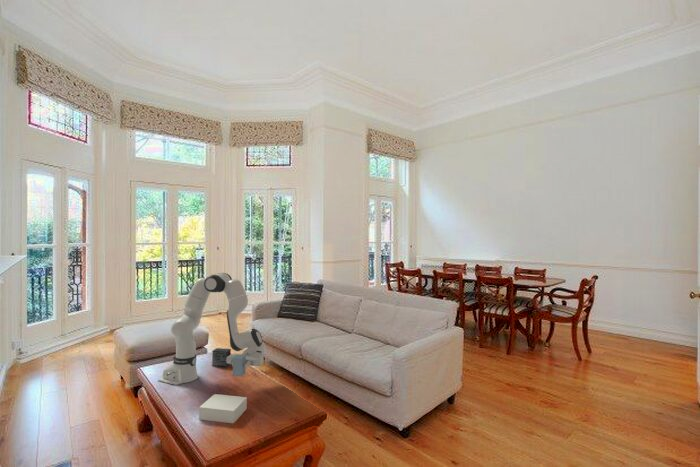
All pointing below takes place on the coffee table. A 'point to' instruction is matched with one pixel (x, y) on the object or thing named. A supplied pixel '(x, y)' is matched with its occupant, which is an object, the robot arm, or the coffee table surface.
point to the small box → (220, 357)
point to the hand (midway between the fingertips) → (238, 365)
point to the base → (223, 408)
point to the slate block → (239, 365)
